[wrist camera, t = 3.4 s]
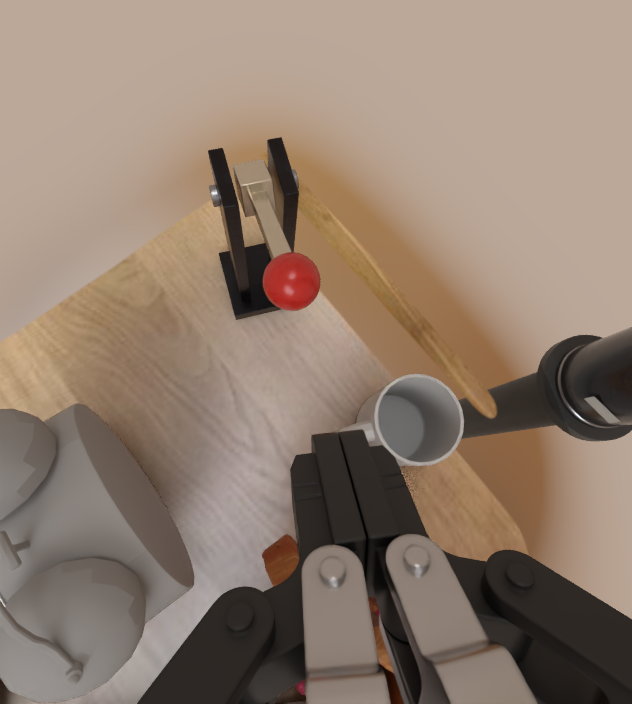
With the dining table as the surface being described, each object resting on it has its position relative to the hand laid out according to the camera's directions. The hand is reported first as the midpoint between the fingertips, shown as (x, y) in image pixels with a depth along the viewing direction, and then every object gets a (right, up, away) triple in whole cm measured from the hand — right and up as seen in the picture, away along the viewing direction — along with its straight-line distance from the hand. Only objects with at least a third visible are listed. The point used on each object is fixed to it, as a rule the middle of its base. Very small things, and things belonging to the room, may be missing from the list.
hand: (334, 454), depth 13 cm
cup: (+5, -5, +31) cm, 31 cm away
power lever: (-3, +10, +16) cm, 19 cm away
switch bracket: (-6, +10, +33) cm, 35 cm away
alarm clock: (-17, -11, +27) cm, 34 cm away
